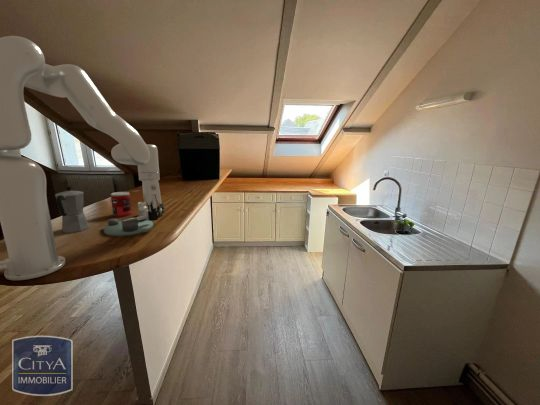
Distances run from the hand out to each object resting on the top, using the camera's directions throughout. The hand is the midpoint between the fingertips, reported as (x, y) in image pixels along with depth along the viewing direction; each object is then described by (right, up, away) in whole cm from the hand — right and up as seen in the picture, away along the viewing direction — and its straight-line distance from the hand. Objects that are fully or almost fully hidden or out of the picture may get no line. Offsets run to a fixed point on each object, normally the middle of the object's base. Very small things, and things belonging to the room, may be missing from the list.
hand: (153, 219), depth 102 cm
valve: (-11, 0, +20) cm, 23 cm away
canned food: (-25, +1, +20) cm, 32 cm away
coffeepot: (-32, -4, -2) cm, 32 cm away
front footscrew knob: (-5, -3, -1) cm, 6 cm away
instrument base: (-11, -4, +2) cm, 11 cm away
